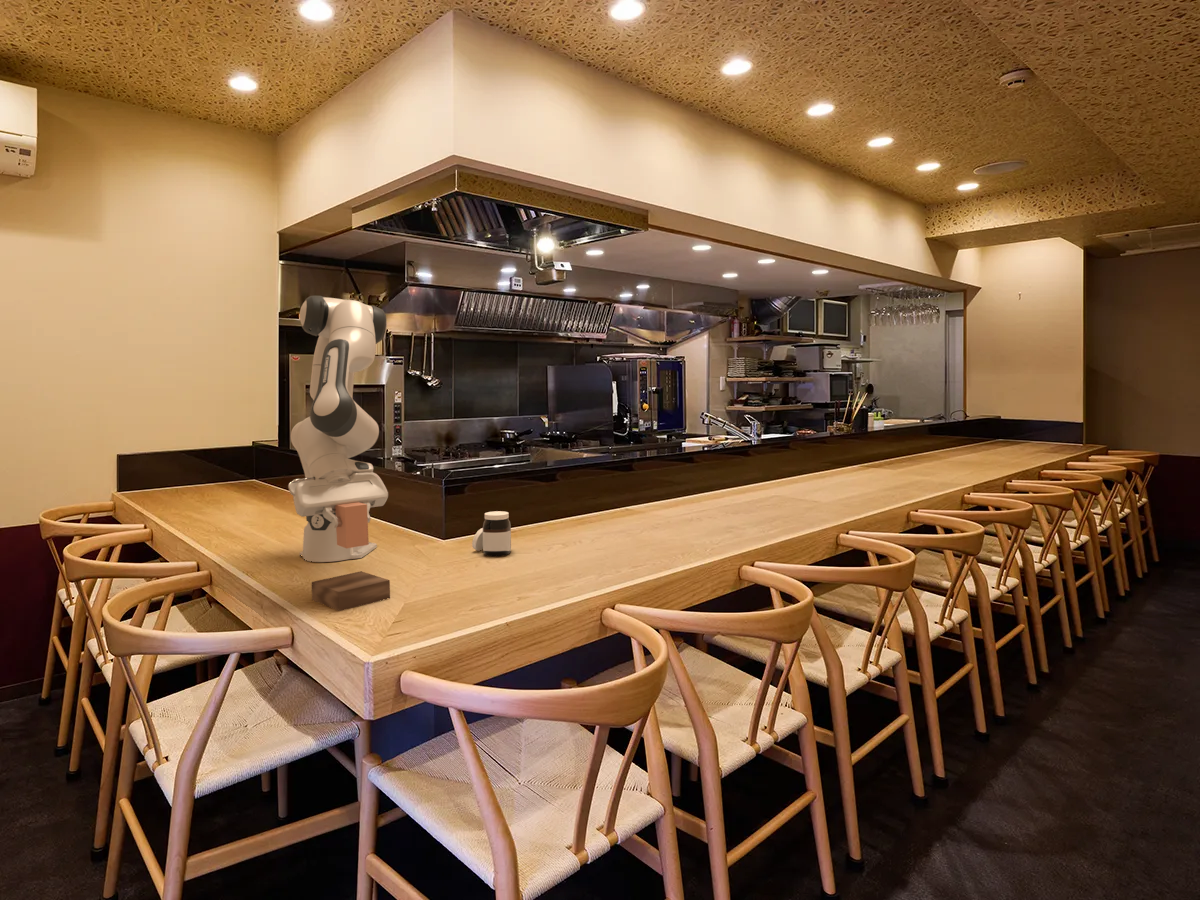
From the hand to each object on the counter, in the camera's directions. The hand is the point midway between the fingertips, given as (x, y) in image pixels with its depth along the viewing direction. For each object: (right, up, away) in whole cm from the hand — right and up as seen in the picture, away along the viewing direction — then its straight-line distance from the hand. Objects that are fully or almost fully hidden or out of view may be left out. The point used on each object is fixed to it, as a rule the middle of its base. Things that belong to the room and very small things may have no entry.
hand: (352, 523), depth 152 cm
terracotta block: (0, -5, +1) cm, 5 cm away
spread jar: (+23, -14, +46) cm, 53 cm away
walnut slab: (-1, -17, +2) cm, 18 cm away
